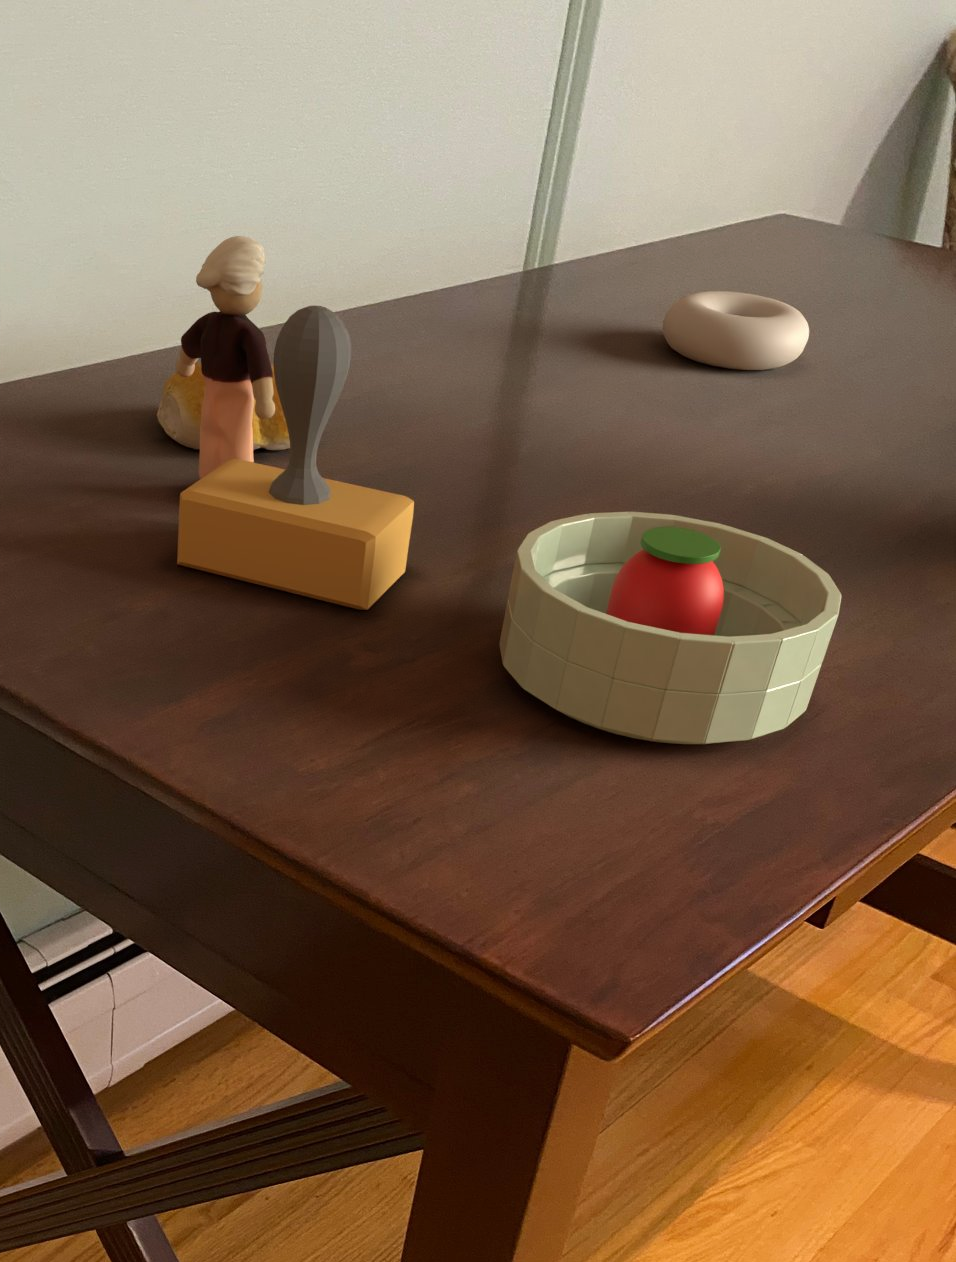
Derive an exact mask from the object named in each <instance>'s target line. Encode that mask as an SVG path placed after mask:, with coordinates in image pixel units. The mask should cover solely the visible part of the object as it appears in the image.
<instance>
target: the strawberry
mask: <svg viewBox="0 0 956 1262" xmlns="http://www.w3.org/2000/svg"><path fill="white" fill-rule="evenodd" d="M640 543H641V546H642V548H643V550H641V551H639V552H638V553H636V554H635V555H633V556H632V557H631V558H630V559H629V560H628V561H627V562H626V563H625V564H624V566H623V567H622V568H621V570H620V571H619V573H618V574H617V576H616V579H615V581H614V583H613V586H612V590H611V594H610V598H609V603H608V607H607V611H606V614H608V615H610V616H613V617H616V618H619V619H622V620H625V621H627V622H631V623H636V624H641V625H645V626H650V627H655V628H660V629H665V630H669V631H674V632H679V633H689V634H701V635H715V631H716V628H717V624H718V621H719V617H720V614H721V610H722V606H723V599H724V589H723V582H722V578H721V576H720V573H719V571H718V569H717V567H716V566H715V564H714V562H713V561H714V560H715V559H717V558H718V556H719V553H720V550H721V547H720V544H719V543H718V542H717V541H716V540H715V539H713V538H712V537H710V536H708V535H706V534H703V533H701V532H697V531H694V530H690V529H685V528H678V527H658V528H652V529H649V530H647V531H645V532H644V533H643V535H642V538H641V542H640Z"/></svg>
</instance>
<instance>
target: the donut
mask: <svg viewBox="0 0 956 1262" xmlns="http://www.w3.org/2000/svg"><path fill="white" fill-rule="evenodd" d="M662 332H663V337H664V338H665V340H666V342H667V344H668V345H669V347H670V348H671V350H674V352H677V353H678V354H680V355H681V356H683V357H684V358H686V359H688V360H689V359H690V360H692V361H694V362H697V363H700V364H704V365H708V366H711V367H718V368H723V369H729V370H740V371H741V370H742V371H765V370H772V369H777V368H780V367H784V366H786V365H788V364H790V363H792V362H793V361H795V360H797V359H798V358H799V356H800V355H802V353H803V352H804V351H805V350H804V349H805V348H806V345H807V343H808V341H809V336H810V327H809V323H808V322H807V319H806V318H805V316H804V315H803V314H802V313H801V311H799V310H798V309H797V308H795V307H793V306H792V305H790V304H787V302H782V301H781V300H777V299H775V298H771V297H767V296H761V295H758V294H752V293H746V292H739V291H738V292H737V291H724V290H719V291H718V290H711V291H710V290H708V291H700V292H695V293H694V292H693V293H691V294H688V295H684V296H682V297H679V298H678V299H677V300H676V301H674V303H673V304H672V305H671V307H669V309H668V310H667V312H666V313H665V315H664V318H663V320H662Z"/></svg>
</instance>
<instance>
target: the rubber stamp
mask: <svg viewBox="0 0 956 1262" xmlns="http://www.w3.org/2000/svg"><path fill="white" fill-rule="evenodd" d="M351 359H352V342H351V337H350V333H349V331H348V327H346V325H345V322H344V321H343V320H342V319H341V318H340V316H339V315H338V314H337V313H335V312H334V311H333V310H332V309H330V308H327V307H326V306H322V305H308V306H305V307H302V308H299V309H297V310H296V311H295V312H293V313H292V314H291V315H290V316H289V317H288V318H287V320H286V321H285V322H284V324H283V325H282V327H281V329H280V331H279V334H278V336H277V338H276V342H275V346H274V350H273V362H272V363H273V365H274V376H275V382H276V387H277V391H278V395H279V399H280V403H281V406H282V410H283V413H284V417H285V420H286V424H287V429H288V433H289V440H290V448H289V452H290V454H289V459H288V460H289V461H288V464H287V467H286V468H285V469H284V468H280V467H275V466H271V465H265V464H261V463H257V462H254V463H253V462H249V461H244V460H239V459H235V458H234V459H231V460H229V461H227V462H225V463H224V464H222V465H221V466H219V467H218V468H216V469H215V470H213V471H212V472H210V473H209V474H208V475H206V476H205V477H203V478H202V479H200V478H199V480H197V481H196V482H195V483H192V485H190V486H188V487H186V489H185V490H184V489H183V490H182V491H181V492H180V494H179V511H178V512H179V513H178V535H177V536H178V537H177V559H176V561H177V562H176V565H179V566H183V567H186V568H190V569H193V570H194V569H195V570H199V571H203V572H207V573H211V574H215V575H217V576H218V575H219V576H221V577H222V576H223V577H226V578H231V579H235V580H239V581H243V582H247V583H250V584H255V585H259V586H262V587H263V586H264V587H267V588H270V589H275V590H278V591H279V590H280V591H282V592H283V591H284V592H287V593H292V594H295V595H299V596H303V597H307V598H311V599H316V600H319V601H323V602H327V603H331V604H334V605H340V606H344V607H347V608H352V609H355V610H360V611H362V610H363V611H365V610H366V611H367V610H369V609H370V608H371V607H372V606H373V605H374V604H375V603H376V602H377V601H378V600H379V599H380V598H381V597H382V596H383V595H384V594H385V593H386V592H387V591H388V590H389V589H390V588H391V587H392V586H393V585H394V583H396V582H397V580H398V579H400V577H402V576H403V575H404V574H405V573H406V568H407V561H408V553H409V547H410V540H411V533H412V526H413V519H414V511H415V510H414V509H415V507H414V506H415V500H413V499H411V498H410V497H408V496H406V495H402V494H397V493H393V492H390V491H389V492H388V491H384V490H380V489H374V488H371V487H366V486H361V485H357V484H353V483H348V482H344V481H339V480H334V479H329V478H325V477H322V475H321V474H320V472H319V470H318V466H317V455H318V450H319V445H320V442H321V438H322V435H323V433H324V430H325V428H326V426H327V424H328V422H329V419H330V417H331V415H332V413H333V412H334V409H335V407H336V405H337V403H338V401H339V399H340V396H341V393H342V391H343V389H344V386H345V383H346V380H347V377H348V374H349V370H350V366H351V361H352V360H351Z"/></svg>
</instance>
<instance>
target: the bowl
mask: <svg viewBox="0 0 956 1262" xmlns="http://www.w3.org/2000/svg"><path fill="white" fill-rule="evenodd" d="M658 527H678V528H685V529H690V530H694V531H697V532H701V533H703V534H706V535H708V536H710V537H712V538H713V539H715V540H716V541H717V542H718V543H719V544H720V547H721V550H720V553H719V556H718V558H717V559H715V560H714V561H713V562H714V564H715V566H716V567H717V569H718V571H719V573H720V576H721V578H722V582H723V589H724V599H723V606H722V610H721V614H720V617H719V621H718V624H717V628H716V631H715V635H701V634H689V633H679V632H674V631H669V630H665V629H660V628H655V627H650V626H645V625H641V624H636V623H631V622H627V621H625V620H622V619H619V618H616V617H613V616H610V615H608V614H606V611H607V607H608V603H609V598H610V594H611V590H612V586H613V583H614V581H615V579H616V576H617V574H618V573H619V571H620V570H621V568H622V567H623V566H624V564H625V563H626V562H627V561H628V560H629V559H630V558H631V557H632V556H633V555H635V554H636V553H638V552H639V551H641V550H643V548H642V546H641V543H640V542H641V538H642V535H643V533H644V532H645V531H647V530H649V529H652V528H658ZM511 574H512V575H511V581H510V585H509V589H508V596H507V601H506V607H505V613H504V617H503V623H502V628H501V633H500V638H499V639H500V640H499V643H498V646H499V650H500V655H501V662H502V665H503V667H504V669H505V670H506V671H507V672H508V674H510V676H511V677H512V678H513V679H514V680H515V682H516V683H517V684H518V685H519V686H520V688H522V689H523V690H524V691H526V692H527V693H528V694H530V695H531V696H534V697H535V698H537V699H538V700H540V701H541V702H543V703H545V704H546V705H548V706H549V707H551V708H552V709H554V710H556V711H558V712H559V713H561V714H563V715H565V716H567V717H568V718H571V719H573V720H576V721H577V722H580V723H582V724H584V725H588V726H590V727H593V728H595V729H598V730H601V731H605V732H608V733H612V734H614V735H618V736H622V737H627V738H631V739H637V740H642V741H647V742H654V743H663V744H664V743H665V744H672V745H673V744H674V745H710V744H712V745H713V744H721V743H730V742H740V741H741V742H742V741H750V740H753V739H756V738H760V737H763V736H766V735H769V734H772V733H775V732H779V731H782V730H785V729H786V728H787V727H788V726H790V725H791V724H792V723H793V722H794V721H796V719H798V718H799V717H800V716H801V715H803V714H804V713H805V712H806V711H807V710H808V709H807V708H808V706H809V704H810V700H811V697H812V694H813V691H814V688H815V685H816V683H817V679H818V677H819V674H820V670H821V667H822V664H823V662H824V659H825V657H826V653H827V650H828V647H829V645H830V642H831V638H832V635H833V632H834V629H835V627H836V624H837V621H838V618H839V614H840V609H841V604H842V598H843V596H842V593H841V591H840V589H839V588H838V587H837V585H836V583H835V581H834V580H833V579H832V577H831V576H830V574H829V573H828V572H827V571H826V570H824V569H823V568H822V567H820V566H819V565H817V564H816V563H815V562H813V561H812V560H811V559H809V558H808V557H806V556H805V555H804V554H802V553H800V552H799V551H795V549H792V548H790V547H788V546H785V545H783V544H781V543H779V542H776V541H775V540H773V539H770V538H769V537H765V536H762V535H759V534H756V533H752V532H750V531H746V530H743V529H739V528H736V527H732V526H731V525H726V524H722V523H719V522H714V521H708V520H702V519H697V518H691V517H686V516H682V515H675V514H668V513H656V512H655V513H654V512H643V511H642V512H641V511H615V512H614V511H613V512H611V511H610V512H592V513H591V512H590V513H589V512H588V513H583V514H579V515H578V514H577V515H573V516H569V517H564V518H558V519H555V520H551V521H549V522H547V523H544V524H543V525H541V526H539V527H537V528H535V529H534V530H531V531H529V532H528V533H527V535H526V536H525V538H524V539H523V540H522V542H521V544H520V545H519V547H518V548H517V549H516V554H515V559H514V564H513V570H512V573H511Z"/></svg>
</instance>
